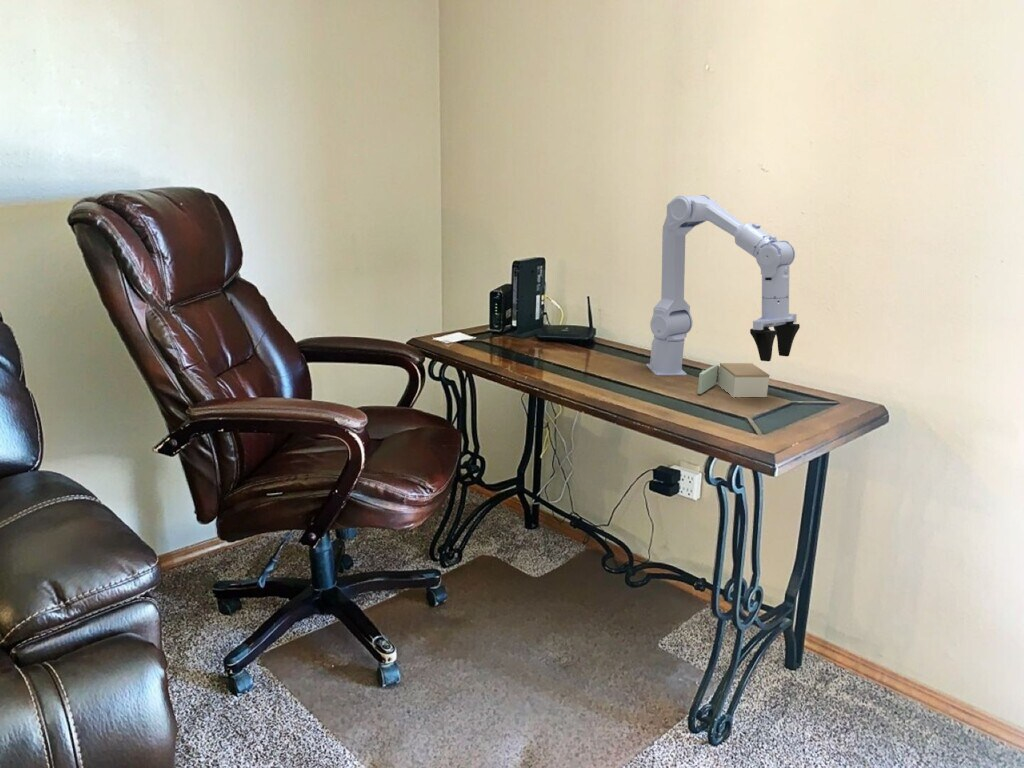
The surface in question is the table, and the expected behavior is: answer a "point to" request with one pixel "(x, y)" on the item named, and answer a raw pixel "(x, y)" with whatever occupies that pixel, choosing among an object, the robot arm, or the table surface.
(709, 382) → the door
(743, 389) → the cabinet
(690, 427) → the table surface
